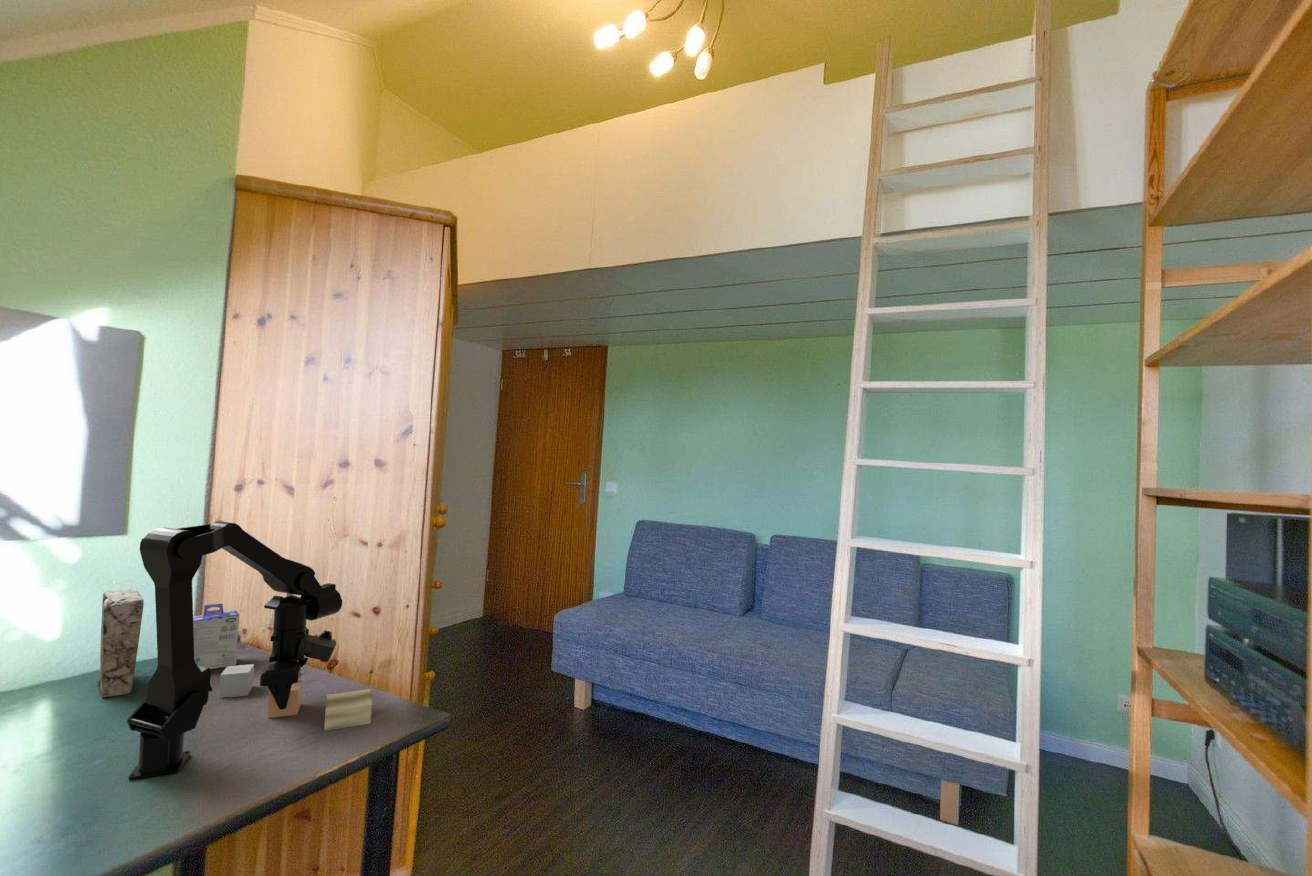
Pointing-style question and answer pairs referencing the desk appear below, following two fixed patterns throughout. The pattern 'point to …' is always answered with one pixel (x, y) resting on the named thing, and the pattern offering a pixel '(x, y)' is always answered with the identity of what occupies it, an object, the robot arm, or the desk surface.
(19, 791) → the desk surface
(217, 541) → the robot arm
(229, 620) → the ink cartridge box
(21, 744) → the desk surface
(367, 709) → the birch block
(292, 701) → the tan cube
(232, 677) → the light grey cube
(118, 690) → the stone block
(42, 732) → the desk surface
